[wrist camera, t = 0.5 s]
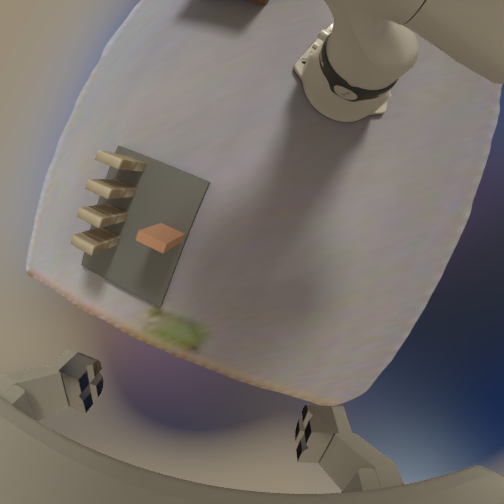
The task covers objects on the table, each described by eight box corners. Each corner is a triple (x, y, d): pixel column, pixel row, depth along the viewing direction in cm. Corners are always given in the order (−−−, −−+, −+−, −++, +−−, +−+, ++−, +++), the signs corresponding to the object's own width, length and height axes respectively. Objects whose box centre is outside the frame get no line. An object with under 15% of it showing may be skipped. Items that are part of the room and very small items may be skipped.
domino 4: (101, 227, 52) (72, 235, 42) (120, 237, 52) (93, 247, 43) (99, 234, 52) (70, 243, 43) (118, 244, 53) (91, 255, 43)
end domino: (160, 222, 51) (138, 230, 42) (184, 233, 52) (166, 243, 42) (158, 230, 52) (135, 240, 42) (181, 241, 52) (163, 253, 42)
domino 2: (116, 179, 50) (88, 179, 40) (137, 188, 50) (110, 189, 40) (113, 187, 50) (85, 188, 41) (134, 196, 51) (107, 199, 41)
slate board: (120, 146, 50) (118, 145, 49) (210, 182, 50) (209, 182, 49) (83, 263, 55) (81, 264, 54) (161, 305, 56) (160, 307, 55)
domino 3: (108, 203, 51) (79, 207, 41) (128, 213, 51) (101, 218, 42) (105, 211, 51) (77, 216, 42) (125, 221, 52) (98, 228, 42)
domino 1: (125, 155, 49) (98, 150, 39) (146, 163, 49) (121, 159, 39) (122, 163, 49) (95, 159, 40) (143, 171, 50) (118, 169, 40)
